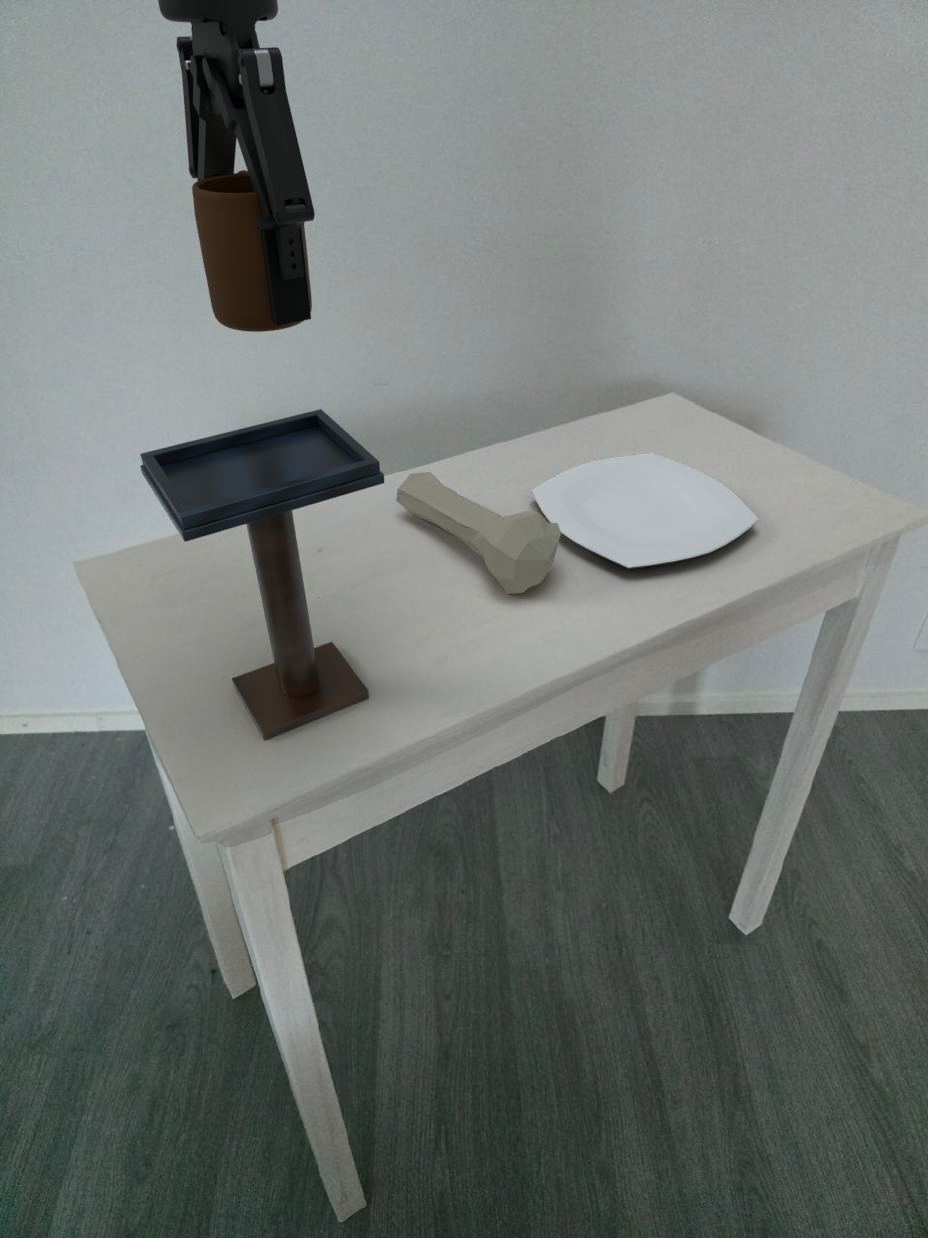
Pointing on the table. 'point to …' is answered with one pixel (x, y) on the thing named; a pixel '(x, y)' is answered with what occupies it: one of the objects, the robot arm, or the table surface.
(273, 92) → the robot arm
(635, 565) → the plate
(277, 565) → the pedestal tray stand
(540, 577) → the faceted club
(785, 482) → the table surface
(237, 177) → the mug
